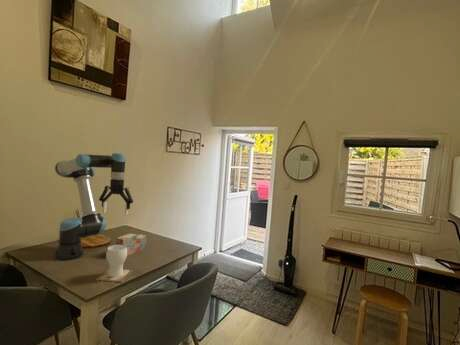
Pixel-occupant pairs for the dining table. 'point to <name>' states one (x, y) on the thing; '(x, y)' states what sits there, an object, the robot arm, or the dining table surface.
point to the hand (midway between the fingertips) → (115, 213)
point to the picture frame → (120, 279)
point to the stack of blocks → (132, 242)
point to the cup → (116, 259)
